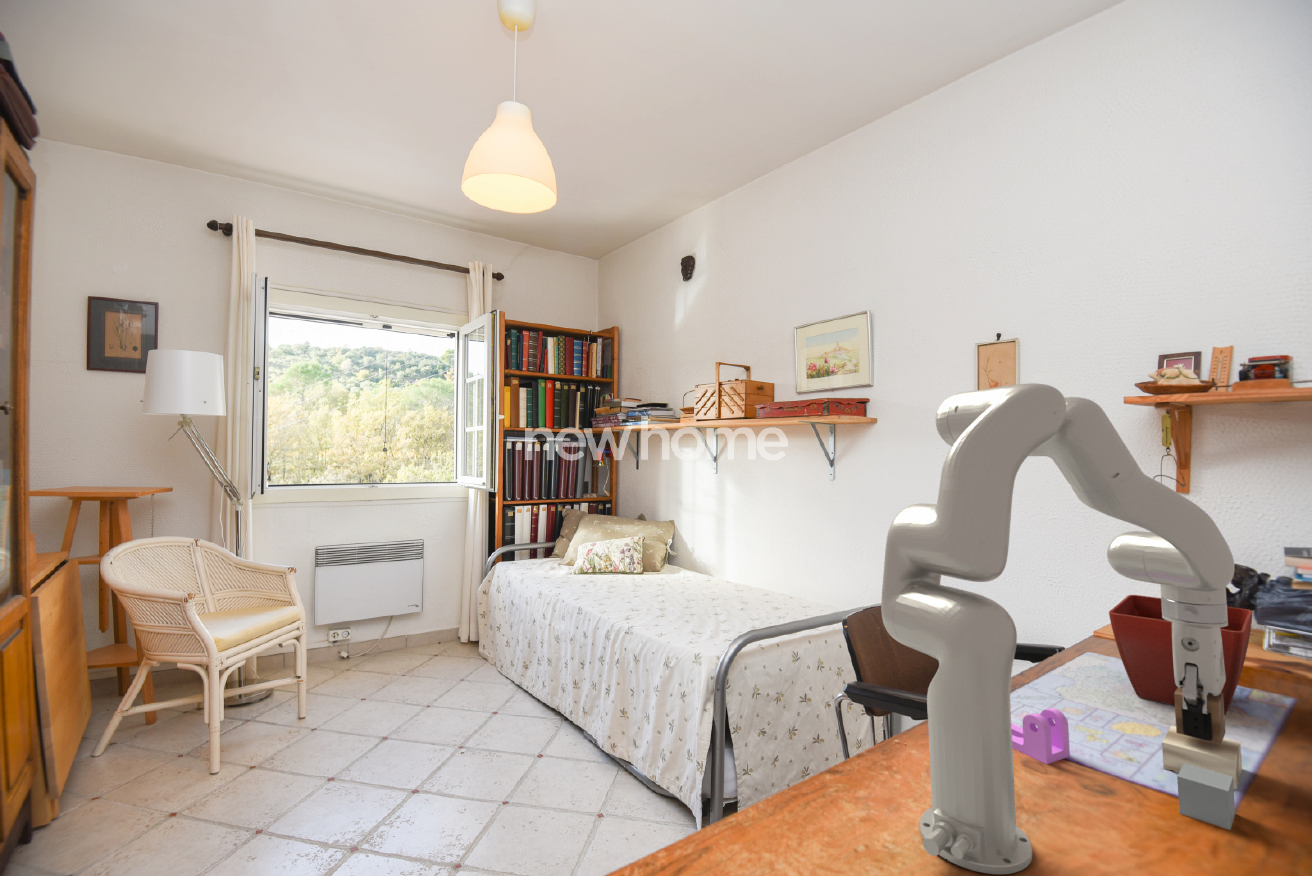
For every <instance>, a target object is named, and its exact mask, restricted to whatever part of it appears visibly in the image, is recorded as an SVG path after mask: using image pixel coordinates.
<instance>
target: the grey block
mask: <svg viewBox="0 0 1312 876" xmlns="http://www.w3.org/2000/svg"><path fill="white" fill-rule="evenodd" d="M1176 776H1177V779H1176V780H1177V794H1178V798H1177V799H1178V811H1179V812H1178V813H1179V814H1180V815H1183V816H1185V817H1190V818H1193V819H1196V820H1198V821H1201V822H1205V823H1207V824H1211V825H1214V826H1217V827H1219V828H1221V829H1222V828H1223V829H1225V830H1229V831H1231V830H1232V826H1233V824H1234V819H1235V816H1236V805H1235V804H1236V803H1235V789H1234V784H1233V776H1229V775H1226V774H1222V773H1218V772H1215V771H1211V770H1208V769H1204V768H1201V767H1197V766H1193V765H1190V764H1186V763H1183V766H1182V768H1181V770H1180V772H1179V773H1177V775H1176Z"/></svg>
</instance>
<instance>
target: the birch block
mask: <svg viewBox="0 0 1312 876" xmlns="http://www.w3.org/2000/svg"><path fill="white" fill-rule="evenodd" d="M1170 725H1171V726H1170V727H1169V729H1168V731H1167V733H1166V734H1165V736H1164V738H1163V740H1162V741H1161V745H1162V746H1161V748H1162V763H1163V765H1162V766H1163V769H1164V770H1166V769H1167V770H1166V771H1170V770H1173V771H1175V772H1174V773H1177V774H1179V772H1180V770H1181V768H1182V766H1183V763H1186V764H1190V765H1193V766H1197V767H1201V768H1204V769H1208V770H1211V771H1215V772H1218V773H1222V774H1226V775H1229V776H1233V784H1234V790H1237V788H1238V785H1239V781H1240V778H1241V777H1240V776H1241V773H1242V771H1243V763H1242V762H1243V761H1242V745H1241V741H1238V740H1233V739H1229V738H1226V737H1224V738H1223V741H1222V744H1218V743H1214V742H1210V741H1206V740H1202V739H1198V738H1194V737H1190V736H1186V735H1182V734H1178V733H1177V732H1176V725H1172V724H1170ZM1173 771H1172V772H1173ZM1239 777H1240V778H1239ZM1238 780H1239V781H1238ZM1237 784H1238V785H1237Z"/></svg>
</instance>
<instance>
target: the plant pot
mask: <svg viewBox="0 0 1312 876" xmlns="http://www.w3.org/2000/svg"><path fill="white" fill-rule="evenodd" d="M1253 612H1254V611H1253V610H1250V609H1247V608H1240V607H1233V606H1227V616H1228V626H1226V627H1220V630H1221V637H1222V646H1223V656H1224V666H1225V675H1226V681H1225V684H1224V687H1223V689H1222V691H1221V693H1223V700H1224V716H1226V715H1227V714H1228V712H1229V708H1230V706H1231V704H1232V700H1233V697H1234V695H1235V692H1236V689H1237V688H1238V684H1239V681H1240V678H1241V675H1242V671H1243V668H1244V665H1245V659H1246V656H1247V652H1248V647H1249V643H1250V638H1251V637H1250V636H1251V631H1252V623H1253ZM1108 616H1109V620H1110V625H1111V628H1112V633H1113V637H1114V640H1115V644H1116V648H1117V650H1118V654H1119V656H1120V659H1121V662H1122V664H1123V666H1124V670H1125V673H1126V675H1127V678H1128V680H1129V681H1130V684H1131V687H1132V689H1133V690H1134V692H1135V694H1136V696H1137V697H1138V698H1142V699H1146V700H1150V701H1154V702H1159V703H1162V704H1163V703H1164V704H1168V705H1172V706H1175V698H1174V693H1175V691H1176V690H1177V688H1178V686H1177V685H1176V684H1175V677H1174V666H1173V649H1172V622H1170V621H1168V620H1165V619H1164V618H1162V604H1161V597H1155V596H1146V595H1138V594H1129V595H1127V596H1126V597H1124V598H1123V600H1121V601H1120V602H1119V603H1118V604H1117V605H1115V606H1114V607H1113V608H1112V609H1109V611H1108Z"/></svg>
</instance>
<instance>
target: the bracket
mask: <svg viewBox="0 0 1312 876" xmlns="http://www.w3.org/2000/svg"><path fill="white" fill-rule="evenodd" d="M1011 730H1012V749H1013V750H1015V751H1018V752H1020V753H1022V754H1024V755H1026V756H1029V757H1030V758H1032V759H1034V760H1037V761H1039V762H1041V763H1044V764H1046V765H1048V764H1053V763H1055V762H1058V761H1059V760H1060V761H1062V760H1063V759H1066V758H1070V757H1071V755H1070V754H1071V753H1070V752H1071V749H1070V733H1069V731H1070V730H1069V721H1068V719H1067V717H1066V715H1065V714H1064V713H1063V712H1062V711H1060V710H1059V709H1057V708H1055V707H1054V708H1053V707H1051V708H1047V709H1044V710H1042V711H1041V712H1040V714H1039V713H1030V714H1027V715H1024V716H1023V718H1022V727H1021V726H1019V725H1017V724H1014V723H1012V722H1011Z"/></svg>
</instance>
